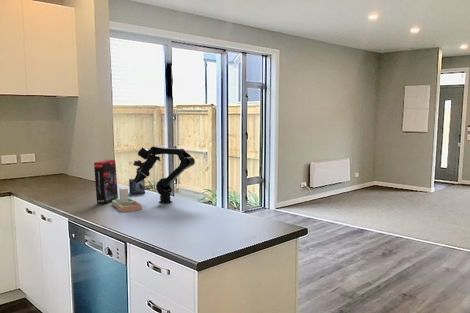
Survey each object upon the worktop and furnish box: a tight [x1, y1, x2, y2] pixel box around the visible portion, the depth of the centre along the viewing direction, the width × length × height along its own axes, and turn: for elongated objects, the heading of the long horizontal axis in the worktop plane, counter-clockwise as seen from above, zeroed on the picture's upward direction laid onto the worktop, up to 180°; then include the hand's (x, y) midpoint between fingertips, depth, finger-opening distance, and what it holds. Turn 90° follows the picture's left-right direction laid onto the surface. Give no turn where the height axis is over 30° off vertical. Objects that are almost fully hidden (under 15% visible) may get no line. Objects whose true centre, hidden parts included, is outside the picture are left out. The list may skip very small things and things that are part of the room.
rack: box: [111, 197, 143, 213], centre depth 248 cm, size 23×12×3 cm, turn 31°
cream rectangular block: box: [119, 187, 129, 203], centre depth 252 cm, size 4×6×11 cm
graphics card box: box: [93, 159, 119, 205], centre depth 263 cm, size 17×7×27 cm, turn 168°
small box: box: [128, 178, 146, 195], centre depth 290 cm, size 11×6×10 cm, turn 112°
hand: (135, 182), depth 257 cm, fingers open, 9 cm apart
